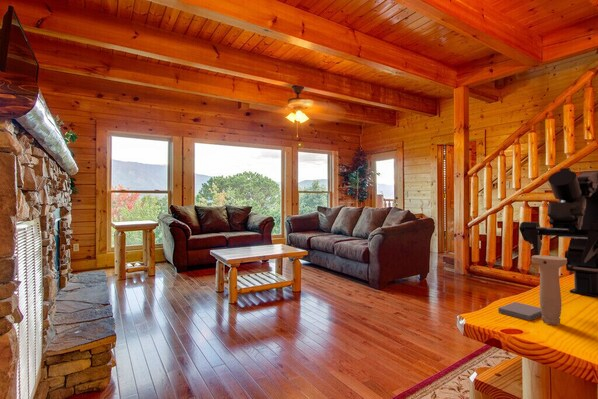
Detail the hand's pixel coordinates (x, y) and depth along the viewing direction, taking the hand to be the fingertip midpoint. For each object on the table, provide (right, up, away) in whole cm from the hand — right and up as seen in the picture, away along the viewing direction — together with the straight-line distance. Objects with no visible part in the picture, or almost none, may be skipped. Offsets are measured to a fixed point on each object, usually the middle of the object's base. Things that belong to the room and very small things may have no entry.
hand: (558, 259), depth 80 cm
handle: (-6, -14, -5) cm, 16 cm away
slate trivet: (-8, -14, +2) cm, 16 cm away
